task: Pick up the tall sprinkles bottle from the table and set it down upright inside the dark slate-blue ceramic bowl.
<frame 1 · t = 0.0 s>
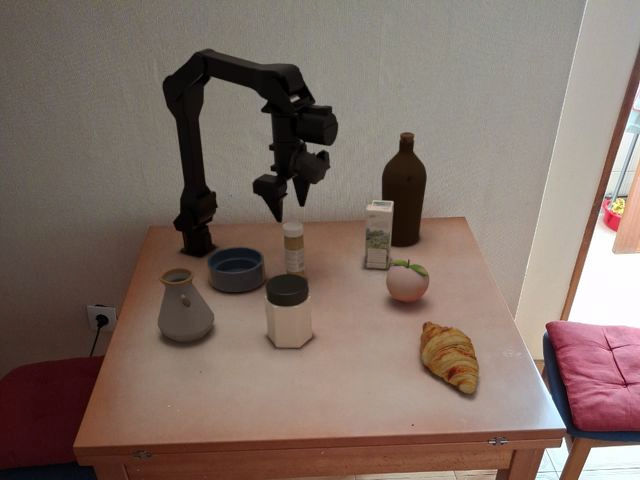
hand: (291, 214, 132), 15 cm above the table, tool pointing down, fingers open, 9 cm apart
decorative fruit: (404, 303, 132), on the table
olive oil: (399, 239, 155), on the table
coffee pot: (192, 345, 122), on the table
jar: (290, 337, 123), on the table
syrup box: (377, 264, 145), on the table
bowl: (238, 280, 141), on the table
sprinkles bottle: (295, 281, 140), on the table
croissant: (445, 365, 115), on the table
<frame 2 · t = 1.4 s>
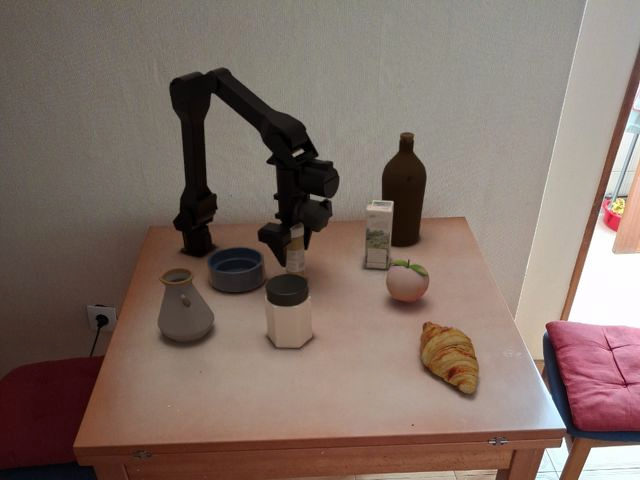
hand: (294, 258, 136), 6 cm above the table, tool pointing down
sprinkles bottle: (295, 281, 140), on the table, touching gripper
everything else where it was.
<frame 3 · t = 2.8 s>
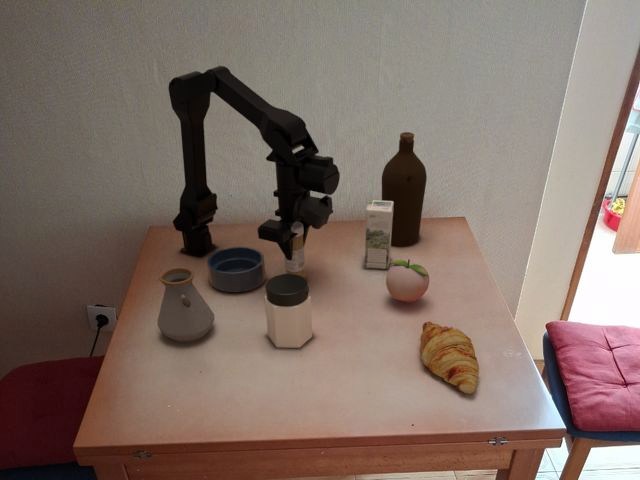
hand: (295, 255, 136), 6 cm above the table, tool pointing down, fingers closed on sprinkles bottle, 4 cm apart
sprinkles bottle: (295, 281, 140), on the table, touching gripper
everything else where it was.
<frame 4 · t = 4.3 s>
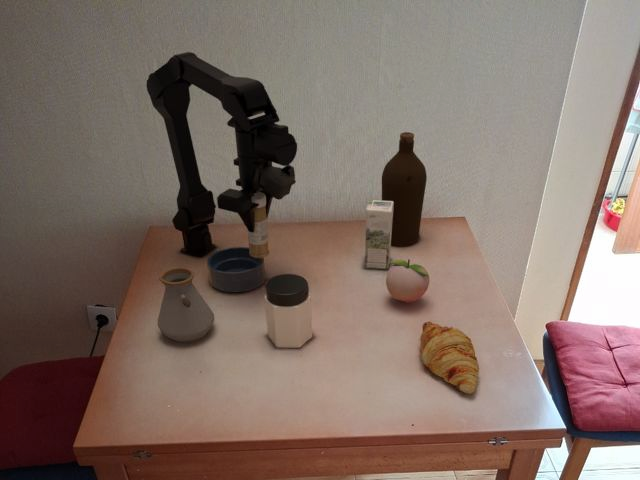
hand: (257, 227, 132), 13 cm above the table, tool pointing down, fingers closed on sprinkles bottle, 4 cm apart
sprinkles bottle: (259, 255, 137), point 6 cm above the table, touching gripper
everything else where it was.
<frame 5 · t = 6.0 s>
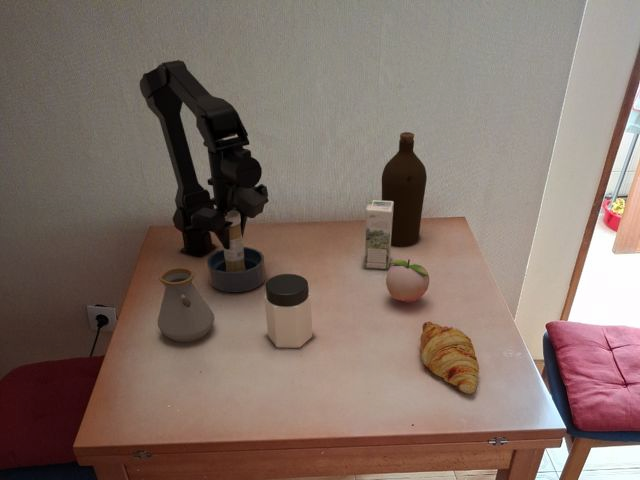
hand: (233, 244, 135), 9 cm above the table, tool pointing down, fingers closed on sprinkles bottle, 4 cm apart
sprinkles bottle: (235, 270, 140), point 2 cm above the table, touching gripper
everything else where it was.
when the fingers open (7 cm above the table, at t = 6.9 s): sprinkles bottle stays where it is, resting on bowl.
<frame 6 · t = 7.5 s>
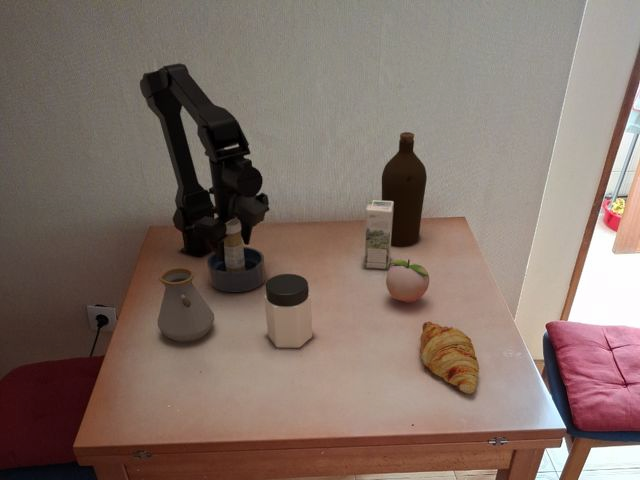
hand: (234, 252, 136), 7 cm above the table, tool pointing down, fingers open, 9 cm apart
sprinkles bottle: (236, 278, 141), resting on bowl
everything else where it was.
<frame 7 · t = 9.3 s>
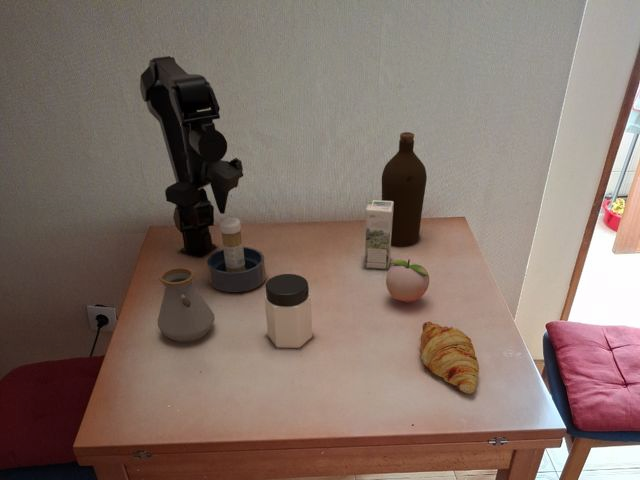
hand: (209, 221, 134), 13 cm above the table, tool pointing down, fingers open, 9 cm apart
nothing on the table moved.
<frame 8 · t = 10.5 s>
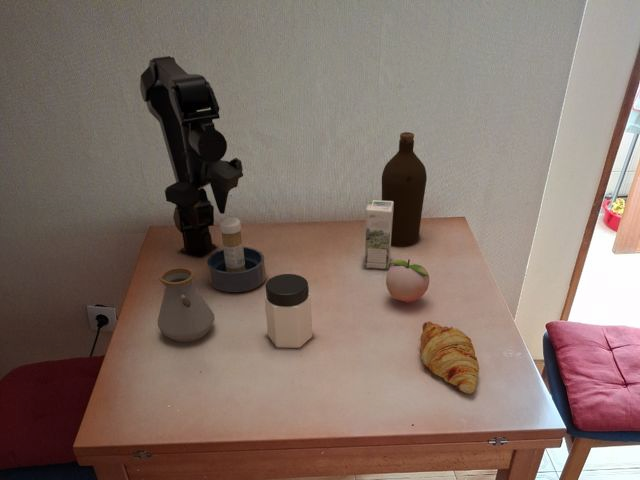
hand: (209, 221, 134), 13 cm above the table, tool pointing down, fingers open, 9 cm apart
nothing on the table moved.
at the end: sprinkles bottle inside the target area in the bowl (0.4 cm from its centre), point 0.4 cm above the bowl's base; sprinkles bottle tilted 0°; the gripper is holding nothing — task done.
